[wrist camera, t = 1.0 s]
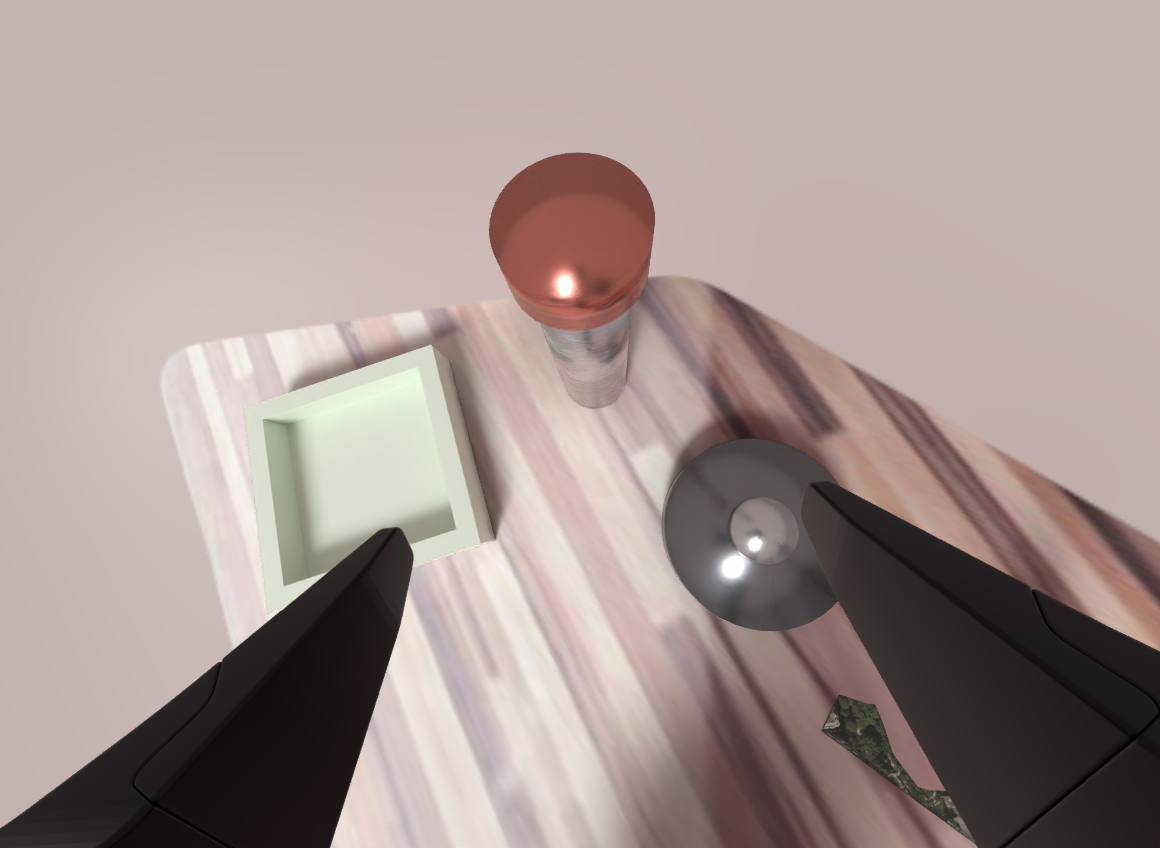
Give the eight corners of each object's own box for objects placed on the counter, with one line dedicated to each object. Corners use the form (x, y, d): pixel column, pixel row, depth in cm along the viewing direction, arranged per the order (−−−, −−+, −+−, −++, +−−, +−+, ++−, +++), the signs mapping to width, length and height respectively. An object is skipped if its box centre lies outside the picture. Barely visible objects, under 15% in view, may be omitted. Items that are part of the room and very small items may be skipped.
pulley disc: (873, 590, 20) (905, 599, 18) (699, 647, 20) (709, 663, 18) (794, 421, 22) (814, 411, 20) (637, 473, 22) (640, 468, 20)
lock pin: (645, 402, 23) (680, 263, 11) (569, 427, 23) (513, 319, 11) (619, 332, 24) (622, 132, 12) (546, 356, 25) (471, 183, 12)
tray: (495, 540, 22) (480, 543, 20) (304, 603, 22) (267, 613, 20) (449, 361, 25) (431, 344, 23) (279, 418, 25) (243, 407, 23)
